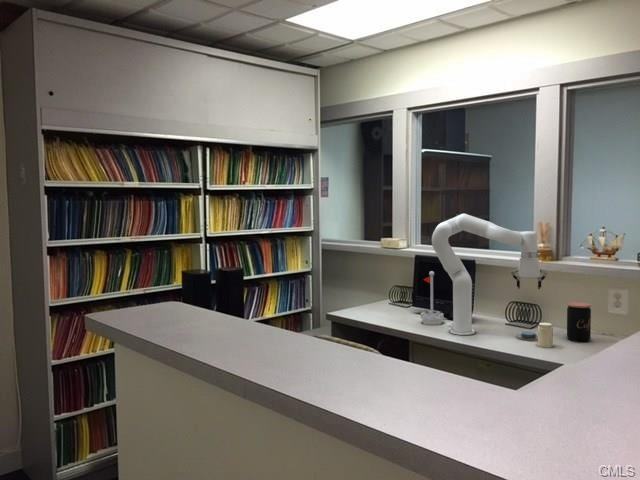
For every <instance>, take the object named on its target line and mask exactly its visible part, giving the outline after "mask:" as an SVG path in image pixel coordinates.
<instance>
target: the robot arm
mask: <svg viewBox="0 0 640 480" xmlns="http://www.w3.org/2000/svg"><path fill="white" fill-rule="evenodd" d="M463 231H464V232H467V233H470V234H473V235H476V236H479V237H482V238H485V239H488V240H493V241H495V242H498V243H501V244H505V245H507V246H510V247H514V248H515V247H519V246H520V247H521V249H520V251H521V252H520V254H521V255H520V256H521V257H519V259H518V268H516V269H515V270H512V271H511V272H510V274H511V276H512V278H514V280H516V287H517V289H518V290H519V289H521V278H532V279H533V278H535V279H537V280H538V281H537V289H538V290H541V288H542V281H543V280H544V279H546V277H547V275H548V272H547V271H545V270H543V269H541V267H540V260H539V257H541V253H539V252H538V233H537V231H533V230H528V231H527V230H526V231H517V230H512V229H508V228H505V227H502V226H499V225H497V224H495V223H493V222H491V221H488V220H485V219H482V218H479V217H476V216H473V215H470V214H467V213H460V214H459V215H456V216H454V217H452V218H449V219H447V220H444V221H442V222H440V223H439V224H438V225H437V226H435V229H434V230H433V233H432V235H431V247H432V248H433V250H434V252H435V254H436V256H437V258H438V260H439V262H440V263H441V265H442V268H443V269H444V271H445V272H446V273H447V274H448V276H449V277H450V279H451V281H452V307H453V308H452V323H451V322H447V323H446V328H450V331H449V332H450V333H451V334H453V335H459V336H471V335H474V334H475V333H476V331H475V329H474V328H473V326H472V325H473V308H472V307H473V303H472V302H473V300H472V299H473V298H472V297H473V295H472V294H473V281H472V277H471V275H470V274H469V272H468V270H467V269H466V267H465V265H464V263H463V262H462V260H461V258H460V257H459V256H458V255H457V254H456V253H455V251H454V250H453V248H452V246H451V245H450V243H449V238H450V237H451V236H453V235H457V234H458V233H460V232H463ZM516 273H517V274H518V276H516ZM541 274H543V275H542V276H540V275H541Z"/></svg>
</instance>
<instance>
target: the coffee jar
mask: <svg viewBox="0 0 640 480" xmlns="http://www.w3.org/2000/svg"><path fill="white" fill-rule="evenodd" d="M566 305H567V308H566V338H567V339H568V340H569V341H571V342H576V343H587V342H588V343H589V341H590V340H591V333H592V332H591V330H592V329H591V328H592V323H591V322H592V309H591V307H592V304H591V303H588V302H582V301H569V302H567V303H566Z"/></svg>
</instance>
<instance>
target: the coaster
mask: <svg viewBox="0 0 640 480" xmlns="http://www.w3.org/2000/svg"><path fill="white" fill-rule="evenodd" d="M516 338H517V339H519V340H522V341H527V342H534V341H535V342H536V341H538V334H536V338H523V337H521V334H518V335H516Z"/></svg>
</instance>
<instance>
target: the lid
mask: <svg viewBox="0 0 640 480" xmlns="http://www.w3.org/2000/svg"><path fill="white" fill-rule="evenodd" d="M520 335H521V337H523V338H536V335H537V333H536V332H533V331H521V333H520Z"/></svg>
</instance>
